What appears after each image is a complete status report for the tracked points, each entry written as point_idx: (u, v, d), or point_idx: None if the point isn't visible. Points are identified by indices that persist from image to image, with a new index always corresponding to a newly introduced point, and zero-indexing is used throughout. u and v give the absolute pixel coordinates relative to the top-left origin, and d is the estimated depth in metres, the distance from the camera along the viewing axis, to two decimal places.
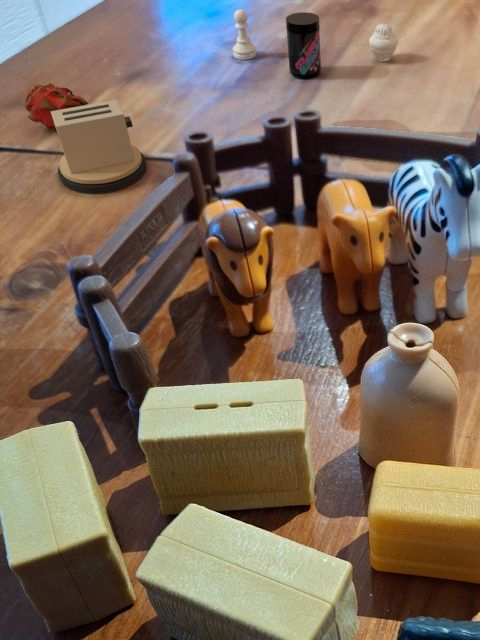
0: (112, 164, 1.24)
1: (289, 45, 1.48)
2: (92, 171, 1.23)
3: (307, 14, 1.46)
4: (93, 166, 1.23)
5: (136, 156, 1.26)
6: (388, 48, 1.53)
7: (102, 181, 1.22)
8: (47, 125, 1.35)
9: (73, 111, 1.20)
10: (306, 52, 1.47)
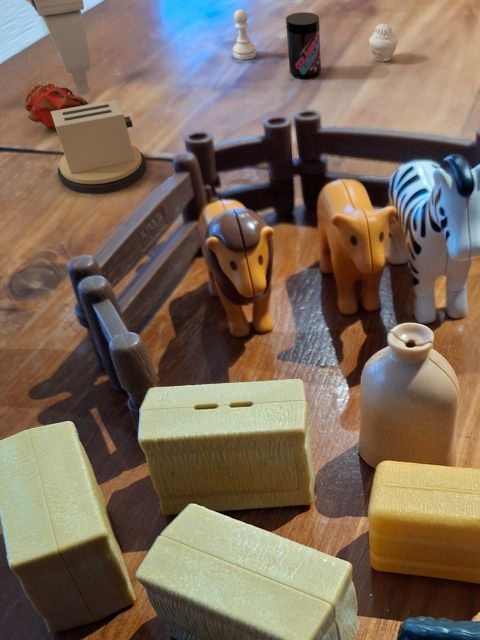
0: (112, 164, 1.24)
1: (289, 45, 1.48)
2: (92, 171, 1.23)
3: (307, 14, 1.46)
4: (93, 166, 1.23)
5: (136, 156, 1.26)
6: (388, 48, 1.53)
7: (102, 181, 1.22)
8: (47, 125, 1.35)
9: (73, 111, 1.20)
10: (306, 52, 1.47)
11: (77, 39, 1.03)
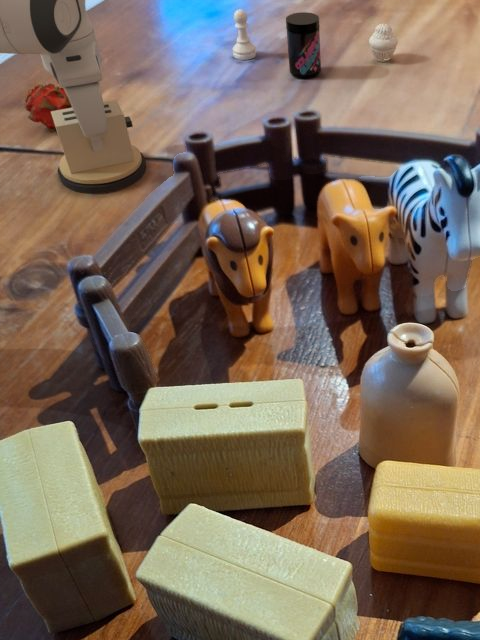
0: (112, 164, 1.24)
1: (289, 45, 1.48)
2: (92, 171, 1.23)
3: (307, 14, 1.46)
4: (93, 166, 1.23)
5: (136, 156, 1.26)
6: (388, 48, 1.53)
7: (102, 181, 1.22)
8: (47, 125, 1.35)
9: (73, 111, 1.20)
10: (306, 52, 1.47)
11: (95, 108, 1.11)
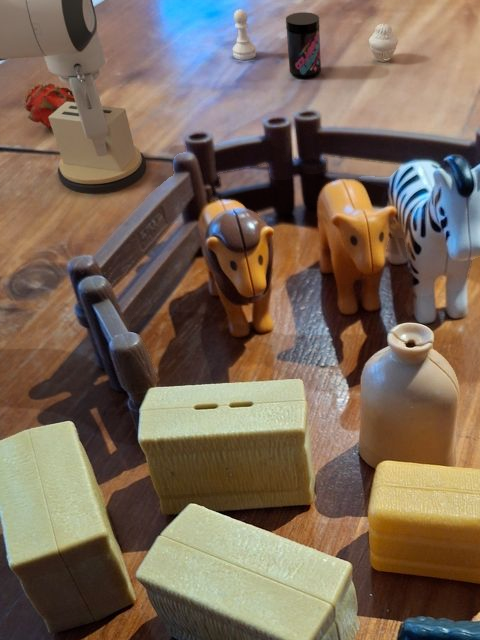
0: None
1: (289, 45, 1.48)
2: None
3: (307, 14, 1.46)
4: None
5: None
6: (388, 48, 1.53)
7: None
8: (47, 125, 1.35)
9: None
10: (306, 52, 1.47)
11: None
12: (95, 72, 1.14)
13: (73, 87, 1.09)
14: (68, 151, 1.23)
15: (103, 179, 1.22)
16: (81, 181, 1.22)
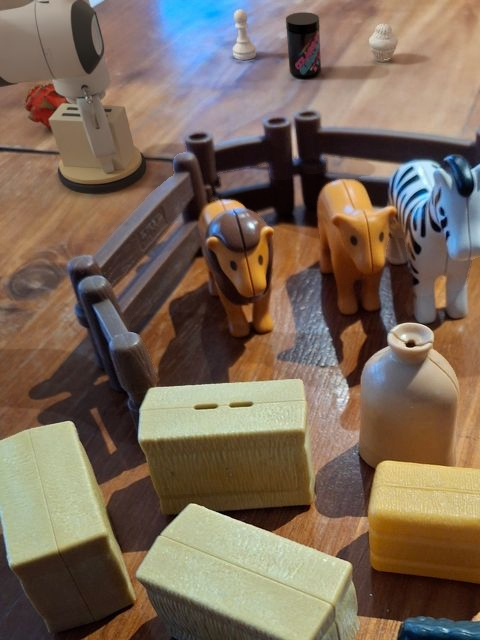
0: None
1: (289, 45, 1.48)
2: None
3: (307, 14, 1.46)
4: None
5: None
6: (388, 48, 1.53)
7: None
8: (47, 125, 1.35)
9: None
10: (306, 52, 1.47)
11: None
12: (101, 92, 1.17)
13: (81, 108, 1.12)
14: (69, 152, 1.22)
15: (109, 178, 1.22)
16: (87, 182, 1.22)
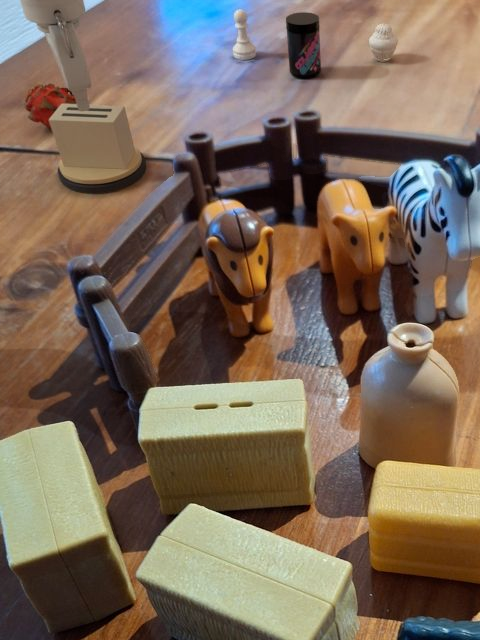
0: None
1: (289, 45, 1.48)
2: None
3: (307, 14, 1.46)
4: None
5: None
6: (388, 48, 1.53)
7: None
8: (47, 125, 1.35)
9: (96, 115, 1.19)
10: (306, 52, 1.47)
11: None
12: (75, 21, 1.09)
13: (54, 34, 1.04)
14: (69, 152, 1.22)
15: (110, 178, 1.22)
16: (87, 182, 1.22)
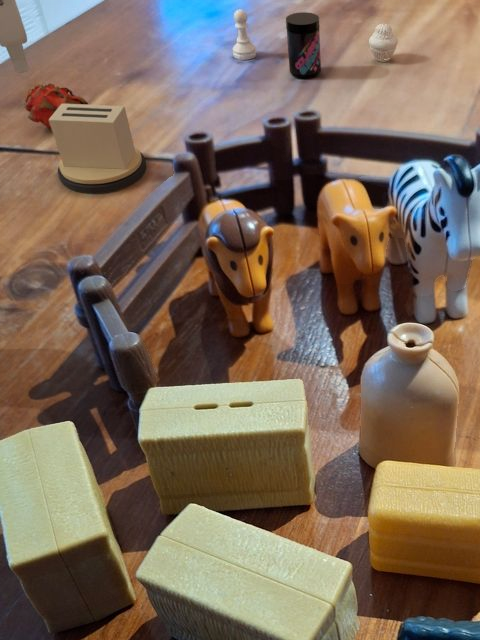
0: None
1: (289, 45, 1.48)
2: None
3: (307, 14, 1.46)
4: None
5: None
6: (388, 48, 1.53)
7: None
8: (47, 125, 1.35)
9: (96, 115, 1.19)
10: (306, 52, 1.47)
11: None
12: None
13: None
14: (69, 152, 1.22)
15: (110, 178, 1.22)
16: (87, 182, 1.22)
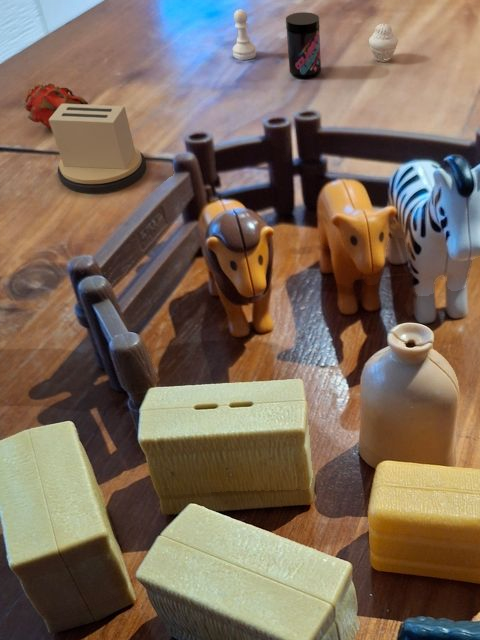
0: None
1: (289, 45, 1.48)
2: None
3: (307, 14, 1.46)
4: None
5: None
6: (388, 48, 1.53)
7: None
8: (47, 125, 1.35)
9: (96, 115, 1.19)
10: (306, 52, 1.47)
11: None
12: None
13: None
14: (69, 152, 1.22)
15: (110, 178, 1.22)
16: (87, 182, 1.22)
